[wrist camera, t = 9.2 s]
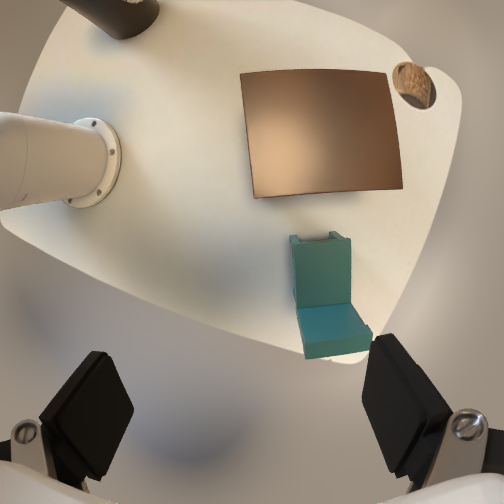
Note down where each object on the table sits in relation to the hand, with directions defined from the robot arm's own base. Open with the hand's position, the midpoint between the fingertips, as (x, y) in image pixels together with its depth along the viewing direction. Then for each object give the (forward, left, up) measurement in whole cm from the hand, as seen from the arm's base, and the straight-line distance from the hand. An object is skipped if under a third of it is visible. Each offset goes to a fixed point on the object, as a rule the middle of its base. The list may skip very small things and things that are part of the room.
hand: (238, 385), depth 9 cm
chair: (+7, -4, -25) cm, 26 cm away
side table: (+7, +10, -25) cm, 28 cm away
